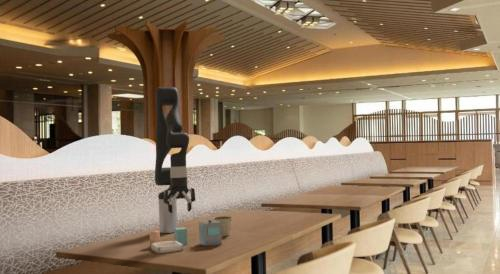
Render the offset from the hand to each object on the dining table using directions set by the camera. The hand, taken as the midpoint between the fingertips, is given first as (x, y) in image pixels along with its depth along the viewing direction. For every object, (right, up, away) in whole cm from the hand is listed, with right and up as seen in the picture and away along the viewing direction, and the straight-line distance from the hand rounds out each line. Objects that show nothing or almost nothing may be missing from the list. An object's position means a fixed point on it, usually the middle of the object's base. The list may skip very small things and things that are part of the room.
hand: (180, 212), depth 234 cm
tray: (-4, -15, -12) cm, 19 cm away
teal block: (0, -15, 0) cm, 15 cm away
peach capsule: (-10, -15, -5) cm, 19 cm away
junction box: (+14, -14, -3) cm, 20 cm away
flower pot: (+19, -14, +17) cm, 29 cm away
